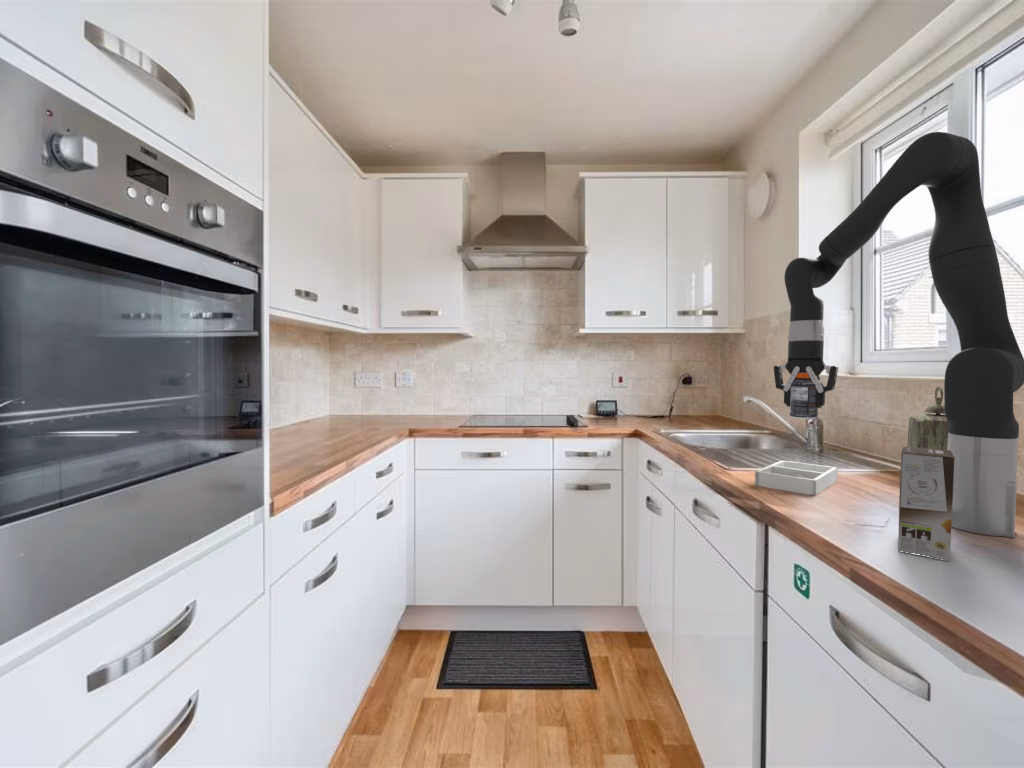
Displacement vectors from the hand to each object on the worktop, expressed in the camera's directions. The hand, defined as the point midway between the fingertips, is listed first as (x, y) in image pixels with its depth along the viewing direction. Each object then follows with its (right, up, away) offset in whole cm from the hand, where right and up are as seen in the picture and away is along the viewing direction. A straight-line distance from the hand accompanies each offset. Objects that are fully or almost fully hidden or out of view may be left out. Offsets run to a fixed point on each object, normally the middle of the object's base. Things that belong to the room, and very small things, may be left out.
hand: (803, 406), depth 120 cm
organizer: (-3, -20, -2) cm, 20 cm away
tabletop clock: (+35, -20, +3) cm, 41 cm away
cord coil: (-7, -19, -6) cm, 21 cm away
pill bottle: (0, -3, 0) cm, 3 cm away
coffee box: (-6, -21, -42) cm, 47 cm away
